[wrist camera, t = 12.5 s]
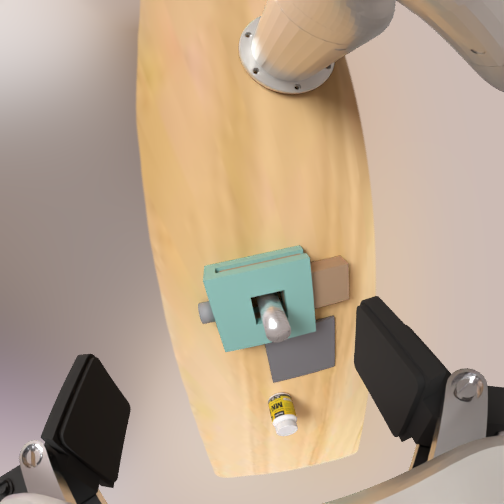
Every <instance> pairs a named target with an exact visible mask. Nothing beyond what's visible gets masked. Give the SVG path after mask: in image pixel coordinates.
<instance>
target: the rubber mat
mask: <svg viewBox="0 0 504 504" xmlns="http://www.w3.org/2000/svg"><path fill="white" fill-rule="evenodd" d="M315 324H316V331H315V332H311V333H307V334H304V335H300V336H296V337H292V338H288V339H286V340H285V341H282V342H278V343H275V342H271V343H267V344H265V347H266V351H267V356H268V361H269V365H270V370H271V375H272V379H273V383H274V382H279V381H283V380H287V379H291V378H295V377H299V376H302V375H306V374H310V373H313V372H317V371H320V370H324V369H327V368H330V367H334V366H335V320H334V316H330V317H327V318H323V319H319V320H316V321H315Z"/></svg>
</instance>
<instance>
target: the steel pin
mask: <svg viewBox="0 0 504 504" xmlns="http://www.w3.org/2000/svg"><path fill="white" fill-rule="evenodd" d="M256 299H257V303H258V307H259V311H260V314H261V318H262V322H263V326H264V329H265V333H266V337H267V339H268V340H269V341H271V342H275V343H278V342H282V341H285V340H286V339H287V338H288V337H289V336H290V334H291V327H290V325H289V322H288V320H287V317H286V315H285V312H284V310H283V307H282V305H281V302H280V300H279V297H278V295H277V292H274V293H269V294H265V295H260V296H256Z"/></svg>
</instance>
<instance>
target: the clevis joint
mask: <svg viewBox="0 0 504 504" xmlns="http://www.w3.org/2000/svg"><path fill="white" fill-rule="evenodd" d="M203 282H204V286H205V289H206V292H207V296H208V299H209V301H207V302H202V303H199V304H198V309H199V315H200V319H201V321H202V323H203V324H205V323H210V322H215V321H216V324H217V328H218V331H219V334H220V337H221V340H222V343H223V346H224V349H225V352H229V351H234V350H239V349H244V348H249V347H253V346H258V345H263V344H267V343H271V341H269V340H268V339H267V337H266V333H265V329H264V326H263V322H262V318H261V314H260V311H259V307H258V306H257V307H253V306H252V302H251V297H256V296H260V295H265V294H269V293H274V292H278V291H280V293H281V299H282V301H280V302H281V305H282V307H283V310H284V312H285V315H286V317H287V320H288V322H289V325H290V327H291V334H290V336H289V337H288V338H292V337H296V336H300V335H304V334H307V333H311V332H315V331H316V324H315V311H314V309H316V308H319V307H323V306H327V305H330V304H334V303H338V302H341V301H345V300H348V299H349V266H348V263H347V262H346V261H345V260H344V259H343V258H342V257H341V256H336V257H332V258H328V259H323V260H319V261H315V262H311V263H310V257H309V256H308V255H307V254H306V253H304V254H303V249H302V247H301V246H300V245H299V246H294V247H290V248H285V249H281V250H276V251H272V252H267V253H262V254H258V255H253V256H249V257H244V258H240V259H235V260H230V261H226V262H221V263H216V264H212V265H207V266H204V277H203ZM288 338H287V339H288Z"/></svg>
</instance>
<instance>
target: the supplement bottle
mask: <svg viewBox="0 0 504 504" xmlns="http://www.w3.org/2000/svg"><path fill="white" fill-rule="evenodd" d="M268 404H269V409H270V414H271V418H272V423H273V426H274V427H275V429H276V432H277V434H278V435H280V436H288V435H291V434H293V433H295V432H296V431H297V429H298V427H297V424H296V421H297V416H296V413H295V409H294V406H293V402H292V399H291V396H290V395H289V394H288V393H283V392H281V393H276V394H274V395H272V396H271V397H270V398H269V400H268Z"/></svg>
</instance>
